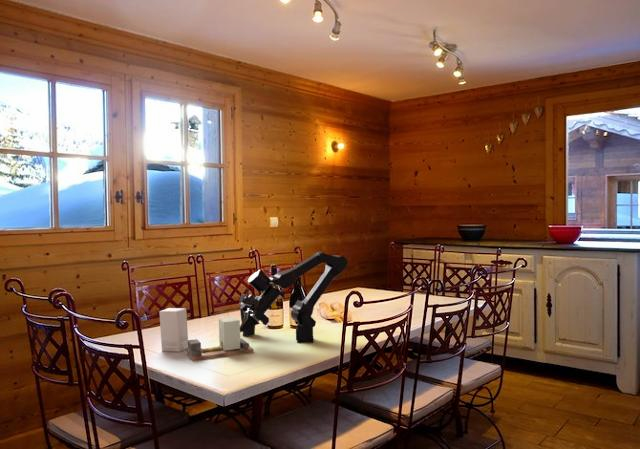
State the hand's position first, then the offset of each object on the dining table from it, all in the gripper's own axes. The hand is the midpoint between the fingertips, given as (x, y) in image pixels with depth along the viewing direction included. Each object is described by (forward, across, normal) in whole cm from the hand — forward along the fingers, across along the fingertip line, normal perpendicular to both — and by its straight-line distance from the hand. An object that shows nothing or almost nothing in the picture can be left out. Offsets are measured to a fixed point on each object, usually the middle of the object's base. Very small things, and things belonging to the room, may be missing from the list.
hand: (239, 331), depth 196 cm
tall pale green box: (+7, 0, +1) cm, 7 cm away
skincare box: (+20, -14, -10) cm, 27 cm away
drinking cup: (-2, -21, +13) cm, 25 cm away
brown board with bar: (+11, 0, 0) cm, 11 cm away
